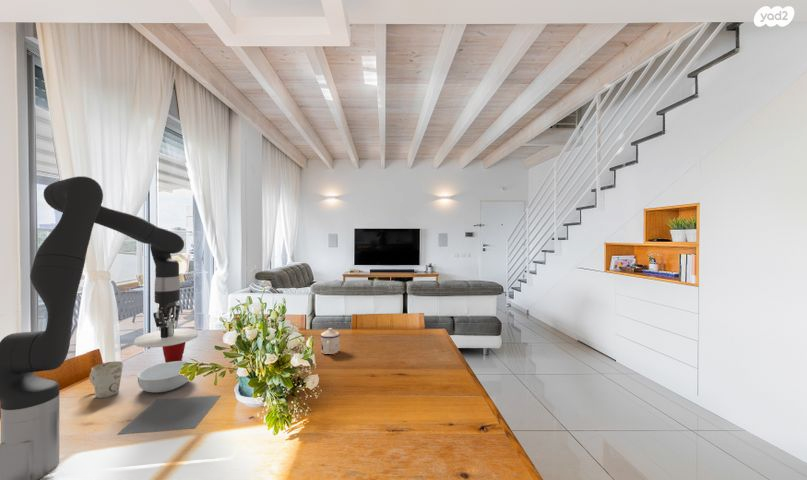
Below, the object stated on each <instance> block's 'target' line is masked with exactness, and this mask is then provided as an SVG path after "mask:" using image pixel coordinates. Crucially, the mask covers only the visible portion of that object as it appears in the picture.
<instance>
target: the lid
mask: <svg viewBox="0 0 807 480" xmlns="http://www.w3.org/2000/svg"><path fill="white" fill-rule="evenodd" d="M165 323H166V321H165ZM198 336H199V330H198V329H197V330H196V329H194V328H188V327H187V328H181V327H180V328H174V334H173V321H169V325H168V337H167V338H161V330H155V331H151V332H149V333H145V334H141V335H139V336H137V337H136V338H135V339H134V340H133V345H134V346H136V347H140V348H162V347H164V346H171V345H176V344H180V343H184V342H186V343H187V342H190V341H192V340H194V339H196V338H197V337H198Z"/></svg>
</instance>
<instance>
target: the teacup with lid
mask: <svg viewBox="0 0 807 480" xmlns="http://www.w3.org/2000/svg"><path fill="white" fill-rule="evenodd" d="M340 335H341V334H340V332H339V331H337V330H334V329H333V327H329V328H328V329H327V330H325V331H324V332H322V333H320V353H321V352H322V353H325V354H332V353H337V352H338V351H339V352H340ZM339 352H338V353H339ZM322 353H321V354H322ZM338 353H337V354H338Z"/></svg>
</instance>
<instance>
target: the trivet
mask: <svg viewBox="0 0 807 480" xmlns="http://www.w3.org/2000/svg"><path fill="white" fill-rule="evenodd" d="M220 398H221V395H209V396H208V395H207V396H204V395H203V396H192V397H191V396H190V397H178V398H177V397H176V398H163V399H162V398H161V399H160V398H159V399H158V398H157V399H156V400H155V401H153V403H151V405H149V406H148V407H147V408H145V409H144V410H143V411H142V412H141V413H140V414H139V415H138V416H136V417H135V418H134V419H133V420H132V421H130V422H129V423H128V424H127V425H126V426H125V427H123V428H122V429H121V430H120V431H119V432H117V433H116V435H129V434H141V433H142V434H143V433H155V432H168V431H179V430H191V429H192V430H193V429H196V428H197V427H198V425H200V423H201V422H202V420H203V419H204V418H205V417H206V415H207V414H208V412H210V410H211V409H212V408H213V406H215V404H216V403H217V401H218V400H219V399H220Z"/></svg>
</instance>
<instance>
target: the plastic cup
mask: <svg viewBox="0 0 807 480" xmlns="http://www.w3.org/2000/svg"><path fill="white" fill-rule="evenodd" d="M186 343H187V342H184V343H180V344H176V345H171V346H164V347H161V348H162V352H163V353H162V354H163V357H164V361H165V362H164V363H167V362H174V361H183V357H184V356H183V355H184V352H185V348H186Z"/></svg>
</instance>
